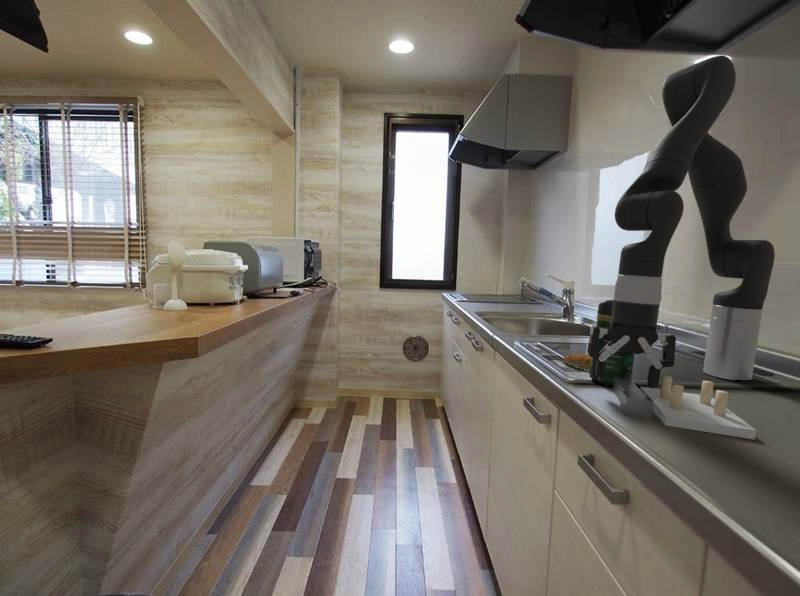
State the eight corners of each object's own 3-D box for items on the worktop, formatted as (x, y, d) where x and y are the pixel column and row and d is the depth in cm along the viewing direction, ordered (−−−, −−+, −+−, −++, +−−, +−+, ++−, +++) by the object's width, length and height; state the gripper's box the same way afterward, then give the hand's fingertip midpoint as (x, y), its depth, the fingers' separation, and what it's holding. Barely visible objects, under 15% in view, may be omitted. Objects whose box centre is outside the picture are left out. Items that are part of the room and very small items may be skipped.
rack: (639, 393, 79) (642, 367, 79) (709, 403, 76) (713, 376, 75) (665, 425, 64) (669, 393, 63) (754, 439, 60) (760, 405, 60)
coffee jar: (626, 390, 81) (637, 302, 79) (585, 381, 86) (594, 297, 84) (634, 380, 88) (644, 299, 86) (597, 372, 93) (605, 295, 91)
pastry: (557, 365, 99) (559, 350, 99) (569, 361, 104) (571, 347, 103) (596, 374, 92) (598, 359, 92) (607, 370, 97) (608, 355, 96)
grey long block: (609, 390, 81) (611, 375, 81) (631, 393, 80) (632, 377, 79) (624, 415, 68) (627, 397, 67) (651, 419, 66) (653, 401, 66)
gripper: (673, 301, 75) (661, 383, 77) (591, 294, 79) (582, 372, 81) (688, 305, 68) (675, 395, 69) (597, 297, 72) (587, 382, 74)
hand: (625, 383), depth 75 cm, fingers open, 8 cm apart
